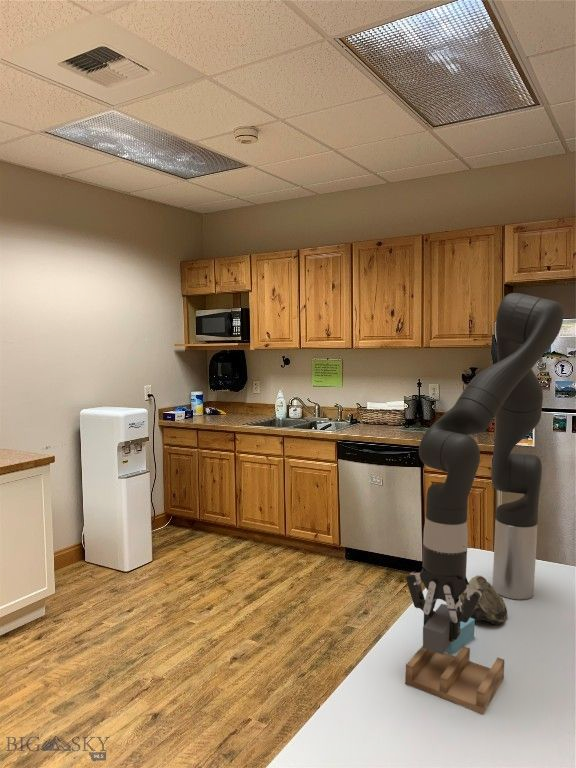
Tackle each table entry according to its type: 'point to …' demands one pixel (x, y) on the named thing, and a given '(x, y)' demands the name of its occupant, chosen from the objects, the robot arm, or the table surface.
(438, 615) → the dark gray block
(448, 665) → the block
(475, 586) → the brown rock
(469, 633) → the tall teal pillar
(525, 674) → the table surface
